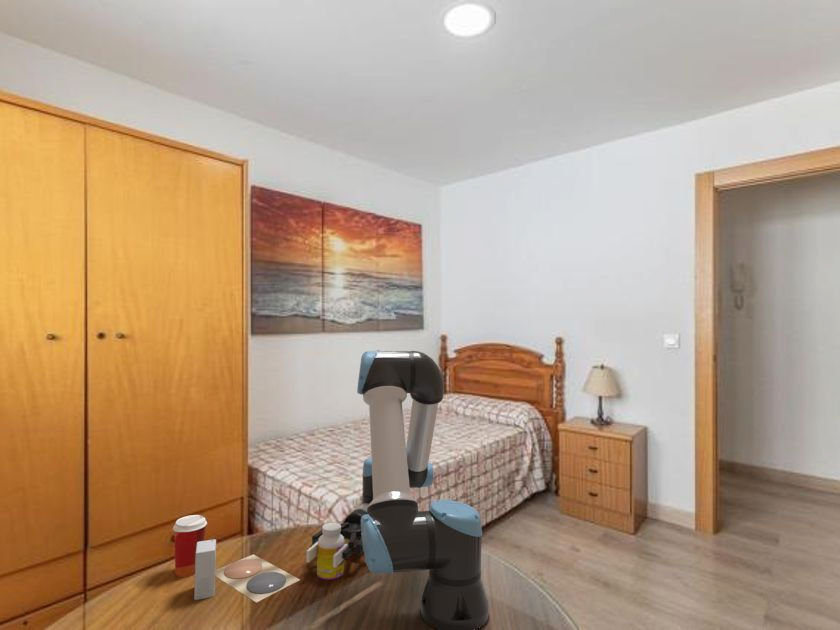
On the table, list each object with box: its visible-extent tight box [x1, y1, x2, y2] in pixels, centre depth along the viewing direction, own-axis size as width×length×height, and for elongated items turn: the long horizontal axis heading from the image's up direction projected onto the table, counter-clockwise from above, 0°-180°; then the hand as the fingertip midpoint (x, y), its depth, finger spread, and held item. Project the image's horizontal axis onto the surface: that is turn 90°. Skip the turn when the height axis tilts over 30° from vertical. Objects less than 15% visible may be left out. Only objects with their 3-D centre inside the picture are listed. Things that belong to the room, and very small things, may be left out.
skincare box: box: [193, 539, 217, 601], centre depth 105 cm, size 6×4×12 cm
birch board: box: [215, 553, 301, 604], centre depth 111 cm, size 20×12×2 cm, turn 53°
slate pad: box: [247, 572, 286, 594], centre depth 108 cm, size 9×9×1 cm
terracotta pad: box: [224, 559, 262, 579], centre depth 115 cm, size 9×9×1 cm
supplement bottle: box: [316, 522, 345, 580], centre depth 114 cm, size 7×7×13 cm
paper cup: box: [172, 514, 208, 578], centre depth 114 cm, size 8×8×14 cm
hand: (321, 559), depth 109 cm, fingers closed on supplement bottle, 7 cm apart
